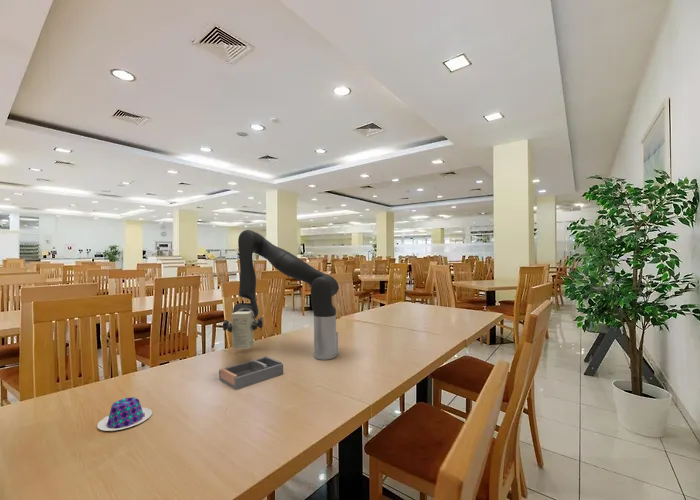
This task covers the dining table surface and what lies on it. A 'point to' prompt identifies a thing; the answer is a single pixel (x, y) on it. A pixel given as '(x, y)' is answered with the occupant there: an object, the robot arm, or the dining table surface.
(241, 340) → the skincare box
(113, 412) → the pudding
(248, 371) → the pusher lane
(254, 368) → the bar
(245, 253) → the robot arm
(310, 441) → the dining table surface
